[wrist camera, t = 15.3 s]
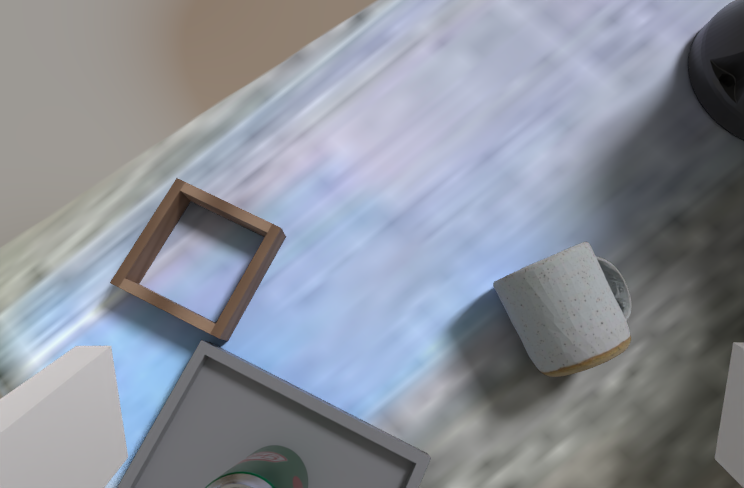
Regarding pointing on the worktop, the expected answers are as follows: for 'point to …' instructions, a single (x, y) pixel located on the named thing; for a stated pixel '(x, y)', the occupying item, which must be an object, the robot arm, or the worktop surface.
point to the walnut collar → (160, 231)
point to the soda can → (265, 470)
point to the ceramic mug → (568, 310)
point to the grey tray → (262, 432)
